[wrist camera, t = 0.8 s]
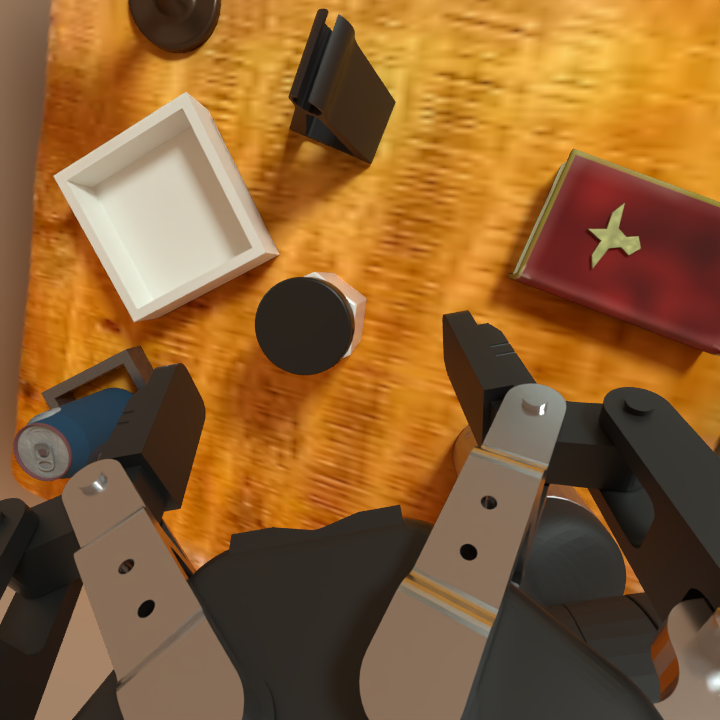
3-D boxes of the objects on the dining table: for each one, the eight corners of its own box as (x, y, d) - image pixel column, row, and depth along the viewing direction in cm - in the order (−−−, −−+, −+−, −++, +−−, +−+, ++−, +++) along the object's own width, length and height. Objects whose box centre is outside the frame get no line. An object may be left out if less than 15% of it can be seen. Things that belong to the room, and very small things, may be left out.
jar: (307, 363, 48) (274, 392, 36) (277, 295, 46) (233, 302, 35) (380, 334, 46) (371, 354, 34) (352, 263, 45) (332, 258, 33)
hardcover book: (699, 351, 43) (730, 359, 39) (505, 277, 44) (516, 278, 40) (765, 236, 41) (805, 232, 36) (558, 160, 41) (574, 147, 37)
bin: (279, 254, 45) (265, 252, 41) (158, 317, 48) (134, 322, 44) (208, 110, 43) (186, 91, 39) (86, 185, 46) (53, 175, 42)
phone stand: (290, 129, 43) (246, 74, 31) (312, 67, 42) (275, -14, 30) (371, 164, 43) (358, 123, 31) (395, 103, 41) (391, 36, 30)
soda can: (93, 385, 51) (0, 417, 39) (147, 384, 50) (68, 417, 38) (102, 439, 52) (15, 487, 41) (155, 439, 51) (81, 487, 40)
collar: (191, 438, 51) (180, 446, 48) (110, 474, 53) (95, 484, 51) (140, 345, 49) (126, 349, 47) (58, 387, 52) (41, 393, 49)
